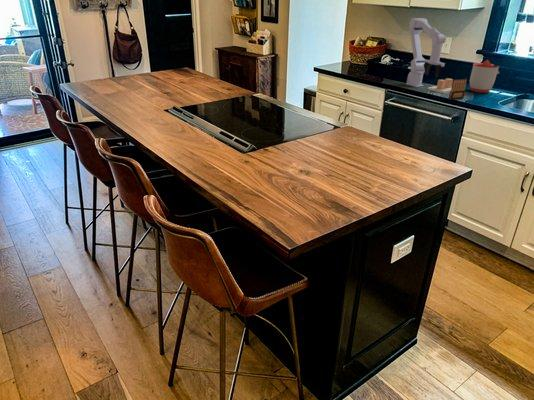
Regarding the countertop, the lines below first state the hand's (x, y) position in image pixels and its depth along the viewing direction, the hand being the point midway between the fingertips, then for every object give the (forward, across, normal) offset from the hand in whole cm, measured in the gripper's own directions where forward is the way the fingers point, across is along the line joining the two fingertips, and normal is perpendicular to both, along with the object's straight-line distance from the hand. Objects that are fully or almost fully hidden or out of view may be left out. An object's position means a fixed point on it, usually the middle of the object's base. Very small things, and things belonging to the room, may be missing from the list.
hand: (431, 76), depth 275 cm
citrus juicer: (+10, +18, +31) cm, 37 cm away
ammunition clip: (+10, +23, -3) cm, 25 cm away
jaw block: (+9, +4, +6) cm, 12 cm away
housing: (+9, +4, +9) cm, 14 cm away
